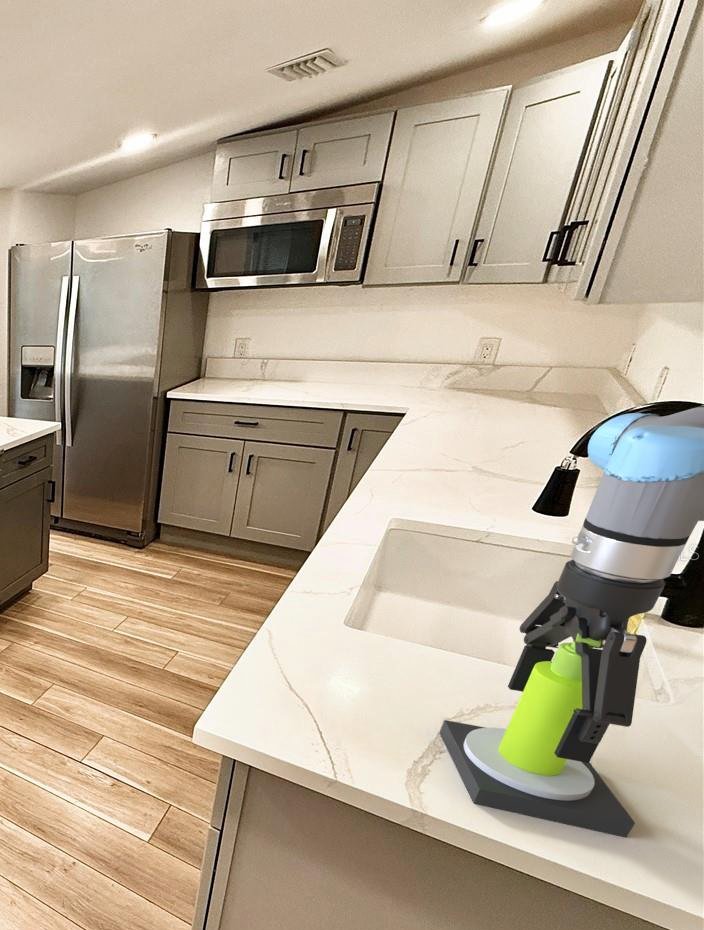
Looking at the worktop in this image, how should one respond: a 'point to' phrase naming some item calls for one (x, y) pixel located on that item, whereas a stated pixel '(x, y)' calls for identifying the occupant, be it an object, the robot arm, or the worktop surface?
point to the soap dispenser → (545, 712)
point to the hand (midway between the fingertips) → (544, 721)
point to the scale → (532, 783)
